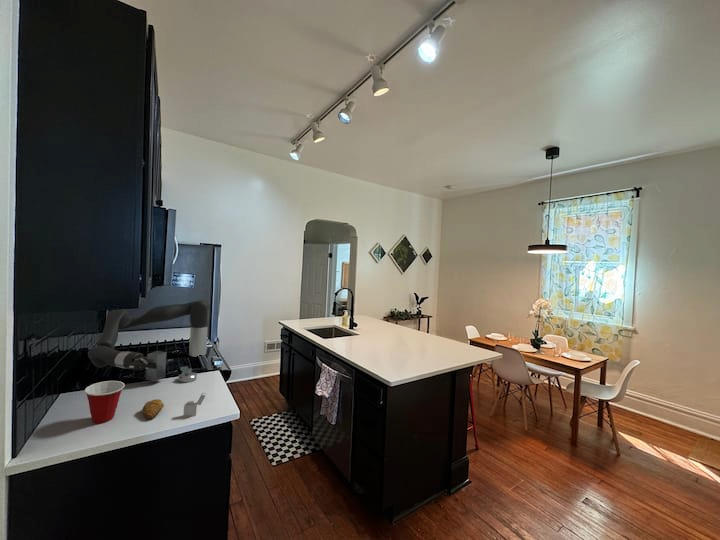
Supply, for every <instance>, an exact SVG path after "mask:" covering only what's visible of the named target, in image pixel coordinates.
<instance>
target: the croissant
mask: <svg viewBox="0 0 720 540" xmlns="http://www.w3.org/2000/svg"><path fill="white" fill-rule="evenodd" d="M164 406H165V404H164V403H163V401H162V400H161V399H160V398H159V399H158V398H157V399H152V400H149V401H147V402H145V404H144V406H143V407H142V412H143V415H144V417H145V418H146V420H147V421H150V420H153V419H155V418H156V417H157V416H158V415H159V414H160V412H161V411H162V409H163V408H164Z"/></svg>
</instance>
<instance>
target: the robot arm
mask: <svg viewBox="0 0 720 540" xmlns="http://www.w3.org/2000/svg"><path fill="white" fill-rule="evenodd" d="M210 308H211V306H210V302H208V300H204V299H198V300H196V301H195V300H194V301H192V302H191V301H190V302H187V303H177V304H167V305H160V306H154V307H152V308H150V309H149V310H147V311H146V312H145V313H143V314H141V315H140V316H138V317H133V318H132V317H131V318H130V316H129V314H128V311H127V310H126V309H125V310H115V309H113V310H111V311H109V312H108V313H107V315H106V318H105V322H104V328H103V331H102V333H101V336H100V338H99V339H98V341H97V343H96V346H93V347H91V348H90V349H89V351H88V352H87V356H88V358H89V359H90V361H91V363H92V364H93V366H94V367H96V368H100V369H101V368H104V367H107V366H111V367H115V368H116V367H117V368H121V369H127V370H132V371H133V370H134V371H135V370H137V371H143V370H144V369H146V370H147V368H152V369H156V368H157V364H155V363H148V362H147V356H145V354H143V353H141V352H134V351H122V350H121V351H120V350H116V349H115V346H116V343H117V342H118V338H119V331H120V330H126V329H130V328H134V327H139V326H145V325H149V324H153V323H160V322H161V323H162V322H169V321H172V320H175V319H179V318H181V317H184V316H190V317H189V323H190V333H189V349H188V350H189V351H188V356H189V357H192V358H193V357H194V358H196V357H197V356H198V357H200V356H199V355H202V356H201V357H204V356H205V355H207V347H208V346H207V345H208V343H207V342H208V327H209V321H208V312H209V311H210ZM167 364H168V359H166V365H167Z"/></svg>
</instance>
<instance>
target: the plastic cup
mask: <svg viewBox="0 0 720 540" xmlns="http://www.w3.org/2000/svg"><path fill="white" fill-rule="evenodd" d="M125 387H126V385H125V383H124V382H122V381H121V380H120V381H119V380H107V381H100V382H96V383H92V384H91V385H89V386H86V388H85V389H84V393H85V394H86V396H87V400H88V408H89V413H90V417H91V421H92V423H93V424H98V425H99V424H104V423H107V422H109V421H110V422H111V420H113V419H114V417H115V416H116V415H115V413H116V412H117V409H118V405H119V401H120V400H119V399H120V397H121V394H122V391H123V389H124V388H125Z"/></svg>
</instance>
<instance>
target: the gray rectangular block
mask: <svg viewBox="0 0 720 540" xmlns="http://www.w3.org/2000/svg"><path fill="white" fill-rule="evenodd" d="M146 355H147V356H146V357H147V362H148V363H155V364H157V368H156V369H152V368H147V369H146V371H145V374H146V375H145V381H151V382H158V381H160V380H161V379H164V378H166V371H167V369H166V368H167V364H166V360H167V351H162V350H155V351H153V352H150V353H147V354H146Z"/></svg>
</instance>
